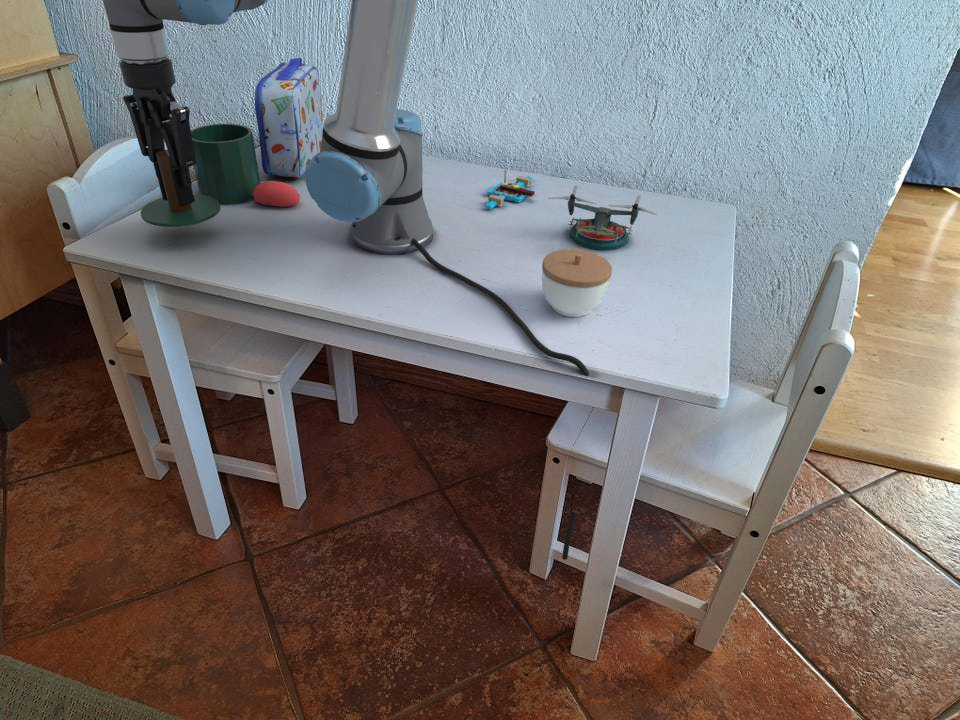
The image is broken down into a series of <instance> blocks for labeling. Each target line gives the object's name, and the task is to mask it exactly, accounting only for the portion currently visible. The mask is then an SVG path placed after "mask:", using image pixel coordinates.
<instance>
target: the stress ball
mask: <svg viewBox="0 0 960 720" xmlns="http://www.w3.org/2000/svg"><path fill="white" fill-rule="evenodd" d="M253 196H254V199H253V200H255V201H256V202H257V203H259V204H260V205H263V206H271V207H282V208H283V207H284V208H285V207H286V208H287V207H294V206H296V205H297V204H298V203H299V202H300V200H301V196H300V193H299V191H298V190H297V189H296V188H295V187H293V186H292V185H290V184H288V183H286V182H283V181H278V180H267V181H266V180H265V181H262V182H261V183H260V184H258V185H257V186H256V187H255V189H254V191H253Z"/></svg>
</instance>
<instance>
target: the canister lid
mask: <svg viewBox="0 0 960 720" xmlns="http://www.w3.org/2000/svg"><path fill="white" fill-rule="evenodd" d="M156 156H157V160H158V164H159V168H160V172H161V176H162V180H163V184H164V188H165V192H166V196H167V200H166V201H165V200H163V198H162V197H160V198H157V199H154V200H152V201H150V202H148V203H147V204H145V205H144V206H143V207H142V208H141V210H140V217H141V219H142V221H143V222H145V223H147V224H149V225H151V226H155V227H161V228H163V227H164V228H180V227H182V228H183V227H190V226H194V225H198V224H202V223H204V222H206V221H209V220H211V219H213V218H214V217H216V216H217V215H218V214H219V213H220V211H221V204H219V202H218V201H217V200H216V199H214V198H212V197H209V196H205V195H200V194H197V193H193V195H194V200H195V202H193V203H190V204H188V205H185V206H179V202H178V198H177V194H176V190H175V185H174V181H173V177H172V173H171V170H170V168H171V167H173V164H172V161H171V158H170V155H169V153H168V150H167V149H165V150H161V151H159V152H157V153H156Z"/></svg>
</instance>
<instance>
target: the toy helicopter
mask: <svg viewBox="0 0 960 720" xmlns="http://www.w3.org/2000/svg"><path fill="white" fill-rule="evenodd" d="M578 187H579V186H578V185H574V187H573V189H572V191H571V194H570V195H569V196H568V195H565V196H555V197H554V196H553V197H547V200H566V201H567V209H568V214H569V216H573V215H574V211H575V208H578V209H581V210H585V211H588V212H591V213H594V218H575V217H572V218H571V220H569V223H568V225H569V226H570V230H569V238H570V239H571V240H572V241H573V242H574V243H575V244H577V245H578V246H581V247H584V248H587V249H590V250H595V251H596V250H597V251H614V250H618V249H621V248H623V247H625V246H626V245H627V244H628V242H629V236H630V235H633V233H632V232H633V231H634V230H632V228H633V225H634V224H635V222H636V220H637V218H638V217H639V213H640V212H644V213H648V214H651V215H653V216H658V215H659V214H657V213H655V212H653V211H650V210H648V209H646V208H644V207H642V206H639V205H640V201H641V197H642V194H637V196H636V198H635V201H634V204H631V205H630V204H608V207H610V208H608V207H603V206H599V207H597V206H593V205H597V204H598V203H597V202H594V201H590V200H587V199H584V198H581V197H578V196H576V195H577V191H578ZM576 201H577V202H576ZM578 202H583V203H578ZM584 203H588V204H591V205H588V204H584ZM611 207H612V208H621V210H620V209H611ZM622 208H623V209H629V210H622ZM630 209H631V210H630ZM639 211H640V212H639ZM612 216H630V219H629V224H630V227H629V226H626V225H621V224H619V223H617V222H616V221H615V222H614V221H611V218H612ZM573 223H575V224H573Z"/></svg>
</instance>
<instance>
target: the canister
mask: <svg viewBox="0 0 960 720" xmlns="http://www.w3.org/2000/svg"><path fill="white" fill-rule="evenodd" d="M253 134H254V133H253V131H252V129H251V127H248V126H245V125H242V124H235V123H213V124H207V125H202V126H199V127H198V126H197V127H195V128H193V129H191V135H192V141H193V146H194V152H195V157H196V165H193V169H194V174H195V178H196V183H197V185H198V186H197V187H198V191H199V195H205V196H209V197H212V198H214V199H216V200H217V201H218V202H219V204H220V205H237V204H243V203H246V202H250V201H252V200H255V199H254V196H253V191H254V189H255V187H256V186H257V185H258V184H260V183H262V182H261V177H260V176H261V175H260V172H259V166H258V160H257V154H256V153H257V152H256V148H255V147H256V146H255V139H254V135H253Z"/></svg>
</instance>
